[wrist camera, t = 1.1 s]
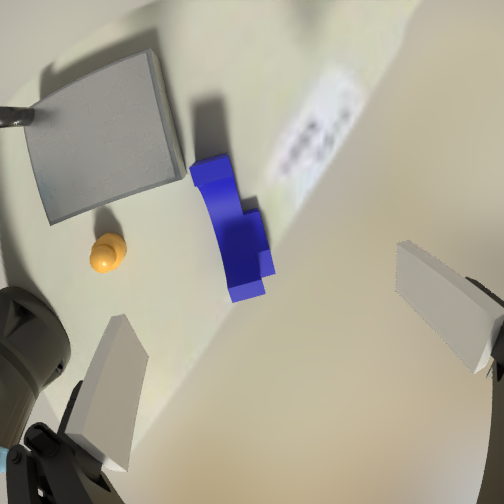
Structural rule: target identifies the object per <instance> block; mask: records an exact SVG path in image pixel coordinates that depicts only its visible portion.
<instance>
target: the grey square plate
mask: <svg viewBox="0 0 504 504" xmlns="http://www.w3.org/2000/svg"><path fill="white" fill-rule="evenodd" d="M21 126H24V132H25V137H26V142H27V147H28V152H29V156H30V160H31V164H32V168H33V172H34V176H35V180H36V183H37V187H38V190H39V193H40V197H41V200H42V203H43V206H44V209H45V212H46V215H47V218H48V221H49V224H50V226H51V225H54V224H56V223H59V222H61V221H63V220H66V219H68V218H71V217H73V216H76V215H78V214H81V213H83V212H86V211H89V210H91V209H94V208H97V207H99V206H102V205H105V204H107V203H110V202H113V201H116V200H119V199H122V198H125V197H128V196H130V195H133V194H136V193H140V192H143V191H146V190H149V189H152V188H155V187H158V186H162V185H165V184H168V183H172V182H175V181H178V180H182V179H183V178H184V177H185V176H186V174H187V173H186V169H185V165H184V162H183V158H182V154H181V150H180V146H179V142H178V138H177V134H176V130H175V126H174V122H173V118H172V114H171V110H170V106H169V101H168V97H167V93H166V88H165V84H164V80H163V75H162V71H161V66H160V61H159V58H158V57H157V56H156V55H155V53H154V52H153V51H152V49H151V48H150V49H147V50H144V51H141V52H138V53H136V54H133V55H130V56H128V57H125V58H123V59H120V60H118V61H115V62H113V63H110V64H108V65H106V66H104V67H101V68H99V69H97V70H95V71H93V72H91V73H88V74H86V75H84V76H82V77H80V78H78V79H76V80H75V81H73V82H71V83H69V84H67V85H65V86H63V87H62V88H60V89H58V90H56V91H55V92H53V93H51V94H50V95H48V96H46V97H45V98H43V99H41V100H40V101H38V102H37V103H35V104H33V105H32V106H30V107H29V108H27V107H0V128H5V127H21Z"/></svg>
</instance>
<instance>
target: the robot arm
mask: <svg viewBox="0 0 504 504" xmlns="http://www.w3.org/2000/svg"><path fill="white" fill-rule="evenodd" d="M396 292H397V293H398V294H399V295H400V296H401V297H402V298H403V299H404V300H405V301H406V302H407V303H408V304H409V305H410V306H411V307H412V308H413V309H414V310H415V311H416V312H417V313H418V314H419V315H420V317H421V318H422V319H423V320H424V321H425V322H426V323H427V324H428V325H429V326H430V327H431V328H432V329H433V330H434V331H435V332H436V333H437V334H438V336H439V337H440V338H441V339H442V340H443V341H444V342H445V343H446V344H447V345H448V346H449V347H450V349H451V350H452V351H453V352H454V353H455V354H456V355H457V356H458V358H459V359H460V360H461V361H462V362H463V363H464V364H465V366H466V367H467V368H468V369H469V370H470V371H471V373H472V374H475V373H476V372H478V371H479V370H481V369H482V368H484V367H485V366H486V364H487V362H488V359H489V357H490V355H491V356H492V357H493V358H494V361H493V363H492V366H491V368H490V370H489V372H488V374H487V377H486V379H489V377H490V375H491V373H493V376H492V379H493V396H492V399H493V400H492V417H491V429H490V439H489V446H488V453H487V459H486V465H485V470H484V475H483V480H482V484H481V488H480V492H479V496H478V500H477V503H476V504H504V301H503V300H501V299H500V298H499V297H497V296H496V295H495V294H494V293H491V291H490V290H488V289H487V288H485V287H484V286H483V285H482V284H481V283H479V282H478V281H476V280H474V279H471V278H468V277H465V278H464V277H463V276H461V275H460V274H459V273H457V272H456V271H455V270H453V269H452V268H450V267H449V266H448V265H446V264H445V263H443V262H442V261H440V260H439V259H437V258H436V257H434V256H433V255H431V254H430V253H428V252H427V251H426V250H424V249H422V248H421V247H419V246H418V245H416V244H414V243H413V242H412V241H410V240H407V241H403V242H400V243H397V267H396ZM70 356H71V349H70V344H69V340H68V338H67V335H66V333H65V331H64V329H63V327H62V326H61V324H60V322H59V321H58V320H57V318H56V317H55V316H54V314H53V313H52V312H51V311H50V310H49V309H48V308H47V307H46V306H45V305H44V304H43V303H42V302H41V301H40V300H39V299H37V298H36V297H35V296H33V295H32V294H30V293H28V292H27V291H25V290H22V289H20V288H16V287H6V288H3V289H1V290H0V473H3V472H5V471H6V480H7V496H8V504H125V503H124V502H123V501H122V499H121V498H120V496H119V495H118V494H117V492H116V490H115V489H114V487H113V486H112V484H111V483H110V481H109V479H108V478H107V476H106V475H105V474H104V473H103V472H102V471H101V467H102V464H103V465H104V466H105V467H107V468H108V469H110V470H111V471H122V472H128V464H129V457H130V451H131V444H132V438H133V432H134V426H135V420H136V415H137V409H138V404H139V399H140V394H141V389H142V384H143V380H144V375H145V370H146V366H147V361H148V357H149V356H148V355H147V353H146V351H145V350H144V348H143V346H142V344H141V343H140V341H139V339H138V337H137V336H136V334H135V332H134V330H133V328H132V326H131V325H130V323H129V321H128V319H127V317H126V315H125V314H122V315H118V316H113V317H111V319H110V321H109V323H108V325H107V328H106V330H105V332H104V334H103V336H102V338H101V341H100V343H99V345H98V347H97V350H96V352H95V354H94V356H93V359H92V361H91V364H90V366H89V368H88V371H87V373H86V376H85V378H84V380H80V381H79V383H78V384H77V385H76V386H75V388H74V389H73V391H72V394H71V396H70V401H68V404H67V406H66V407H67V409H65V412H64V415H63V417H62V420H61V423H60V426H59V429H58V432H57V434H56V433H54V432H53V431H52V430H51V429H50V428H49V427H48V426H47V425H46V424H44V423H42V422H37V423H35V424H33V425H31V427H29V428H28V430H27V431H26V433H25V436H24V445H26V446H27V447H28V448H29V449H30V450H31V451H28V450H27V449H26V448H25V447H24V446H22V445H20V444H19V442H20V440H21V437H22V434H23V431H24V429H25V426H26V424H27V421H28V419H29V416H30V414H31V411H32V409H33V407H34V404H35V402H36V400H37V398H38V396H39V394H40V392H41V391H42V390H44V389H45V388H46V387H47V386H48V385H49V384H51V383H52V382H53V381H54V380H55V379H57V378H58V377H59V376H60V375H61V374H62V373H63V372H64V370H65V368H66V366H67V364H68V362H69V360H70ZM38 489H40V490H41V491H43V497H42V496H40V495H39V494H38Z"/></svg>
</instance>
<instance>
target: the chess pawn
mask: <svg viewBox="0 0 504 504" xmlns="http://www.w3.org/2000/svg"><path fill="white" fill-rule="evenodd" d="M126 252H127V247H126V244H125V241H124V240H123V239H122V237H120V236H119V235H118V234H115V233H106V234H104V235H102V236H101V237H100V238H99V239H98V240H97V241H96V242H95V243H94V245H93V246H92V250H91V255H90V264H91V266H92V268H93V269H94V270H95V271H97V272H99V273H106V272H108V271H109V270H114V269H116V268H117V267H118V266H119V264H120V263H121V261H122V260H123V259H124V257H125V255H126Z"/></svg>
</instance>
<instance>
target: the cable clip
mask: <svg viewBox="0 0 504 504" xmlns="http://www.w3.org/2000/svg"><path fill="white" fill-rule="evenodd" d="M189 169H190V172H191V176H192V179H193V182H194V186H195V187H196V186H197V187H198V188H199V190H200V192H201V194H202V196H203V198H204V201H205V204H206V206H207V209H208V212H209V215H210V218H211V221H212V224H213V227H214V231H215V234H216V238H217V241H218V245H219V249H220V252H221V256H222V261H223V265H224V269H225V274H226V280H227V287H228V291H229V294H230V297H231V300H232V303H234V302H238V301H241V300H245V299H249V298H252V297H256V296H260V295H263V294H265V290H264V286H263V282H262V279H261V278H262V277H266V276H269V275H273V274H275V269H274V265H273V261H272V257H271V252H270V249H269V245H268V242H267V239H266V235H265V232H264V228H263V225H262V221H261V217H260V213H259V210H258V209H257V208H256V209H252V210H248V211H245V212H242V208H241V204H240V201H239V197H238V193H237V189H236V185H235V181H234V175H233V171H232V167H231V164H230V160H229V156H228V155H227V153H224V154H221V155H217V156H214V157H210V158H207V159H203V160H200V161H197V162H195V163H194V164H193V165H192V166H191V167H190V168H189Z"/></svg>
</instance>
